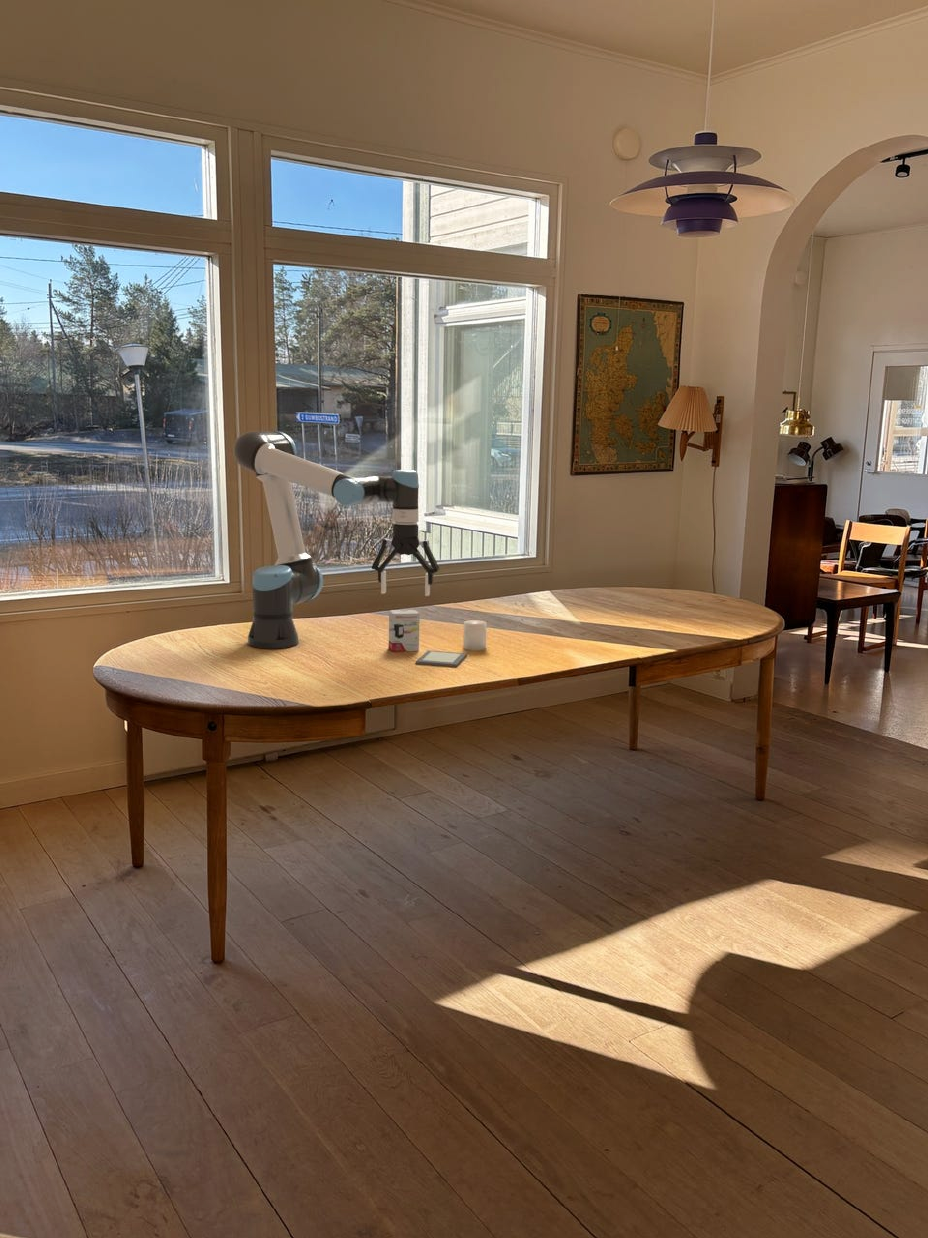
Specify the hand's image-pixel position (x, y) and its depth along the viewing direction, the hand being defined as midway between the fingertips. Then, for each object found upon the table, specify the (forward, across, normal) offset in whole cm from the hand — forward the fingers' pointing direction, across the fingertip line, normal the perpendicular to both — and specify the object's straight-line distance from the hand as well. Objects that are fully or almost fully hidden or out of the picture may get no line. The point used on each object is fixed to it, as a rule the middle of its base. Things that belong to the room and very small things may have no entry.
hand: (405, 594), depth 301 cm
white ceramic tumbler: (+17, +20, +9) cm, 28 cm away
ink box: (+17, 0, 0) cm, 17 cm away
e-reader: (+17, +14, -9) cm, 24 cm away
